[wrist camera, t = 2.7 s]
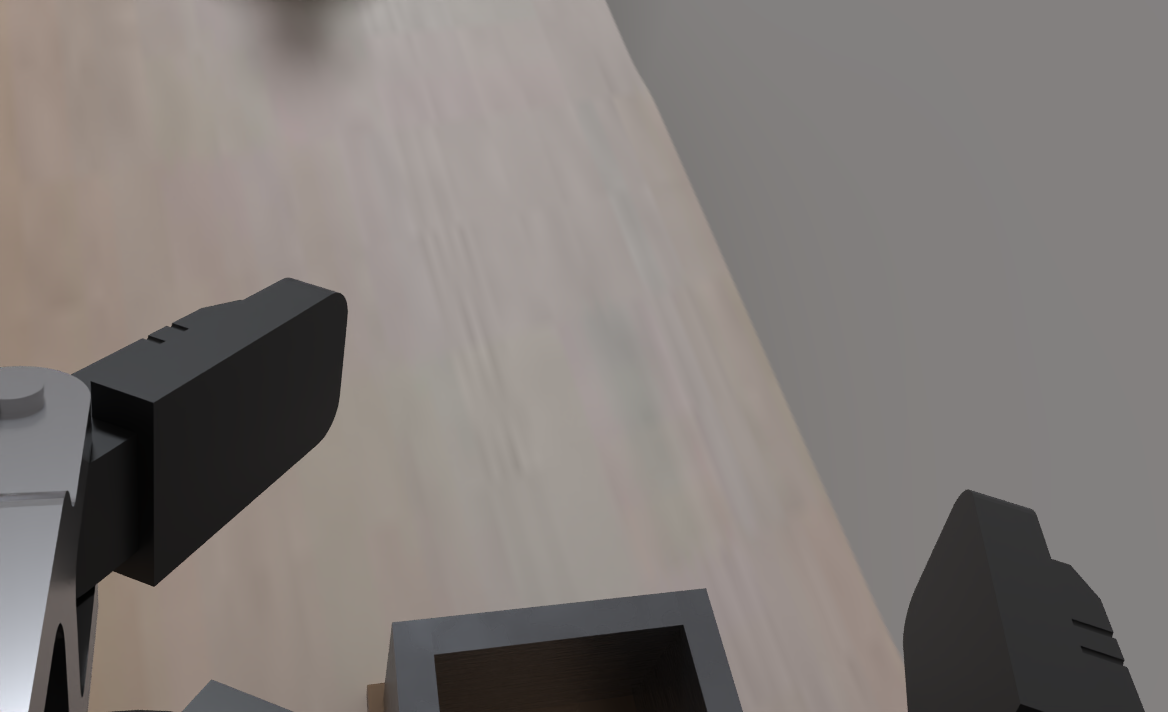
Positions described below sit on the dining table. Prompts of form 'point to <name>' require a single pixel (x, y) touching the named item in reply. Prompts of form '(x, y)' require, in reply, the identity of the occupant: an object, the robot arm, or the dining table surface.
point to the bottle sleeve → (563, 659)
